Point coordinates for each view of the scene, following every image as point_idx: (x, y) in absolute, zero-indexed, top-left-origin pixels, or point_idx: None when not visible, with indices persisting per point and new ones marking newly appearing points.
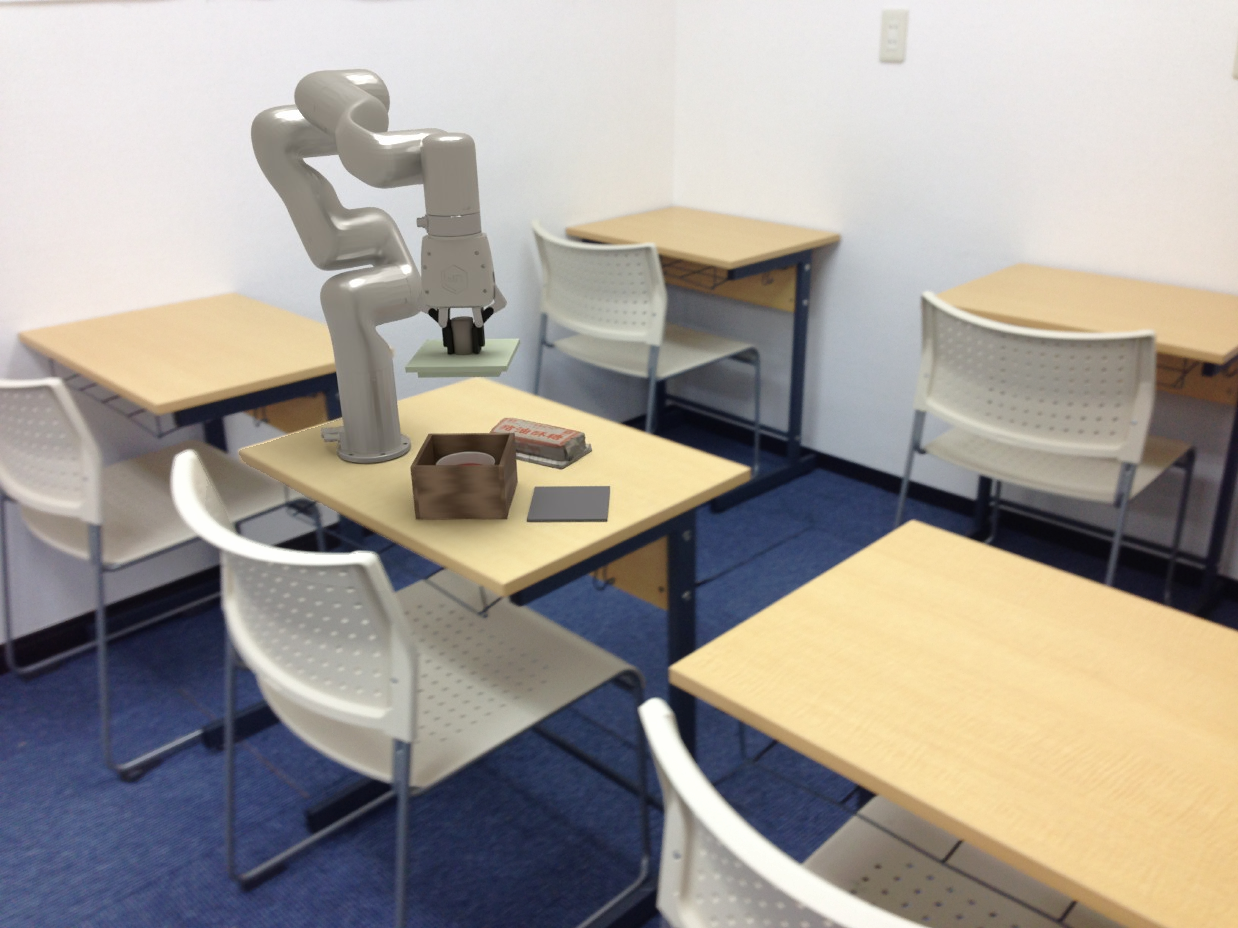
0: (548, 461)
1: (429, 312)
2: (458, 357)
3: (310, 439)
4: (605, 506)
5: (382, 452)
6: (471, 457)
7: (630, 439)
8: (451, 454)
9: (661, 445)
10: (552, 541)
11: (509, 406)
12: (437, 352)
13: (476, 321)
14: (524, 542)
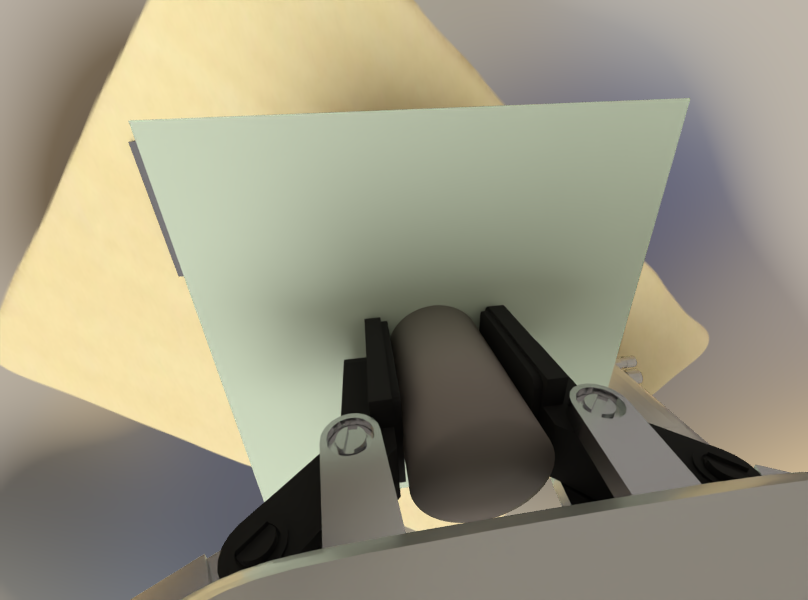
0: None
1: (748, 469)
2: (447, 272)
3: (639, 384)
4: (153, 195)
5: None
6: None
7: (215, 434)
8: None
9: (160, 422)
10: (201, 44)
11: (409, 497)
12: (544, 335)
13: (371, 451)
14: (253, 38)
